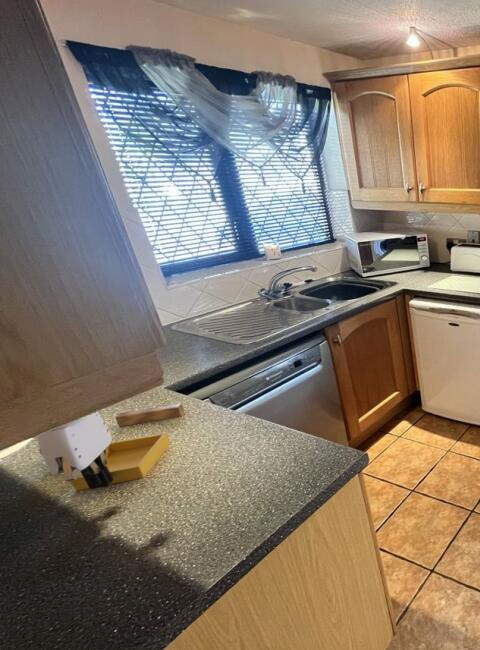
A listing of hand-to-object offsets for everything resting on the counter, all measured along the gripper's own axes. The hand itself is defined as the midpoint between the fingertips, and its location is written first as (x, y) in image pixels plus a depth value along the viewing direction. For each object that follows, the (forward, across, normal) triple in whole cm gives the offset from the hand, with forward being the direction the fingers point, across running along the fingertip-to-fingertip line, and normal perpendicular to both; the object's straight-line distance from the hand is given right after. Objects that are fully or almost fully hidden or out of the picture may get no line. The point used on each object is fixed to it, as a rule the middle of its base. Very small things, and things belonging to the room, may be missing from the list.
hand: (102, 484), depth 81 cm
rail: (+1, -27, -4) cm, 27 cm away
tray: (+2, -8, 0) cm, 8 cm away
